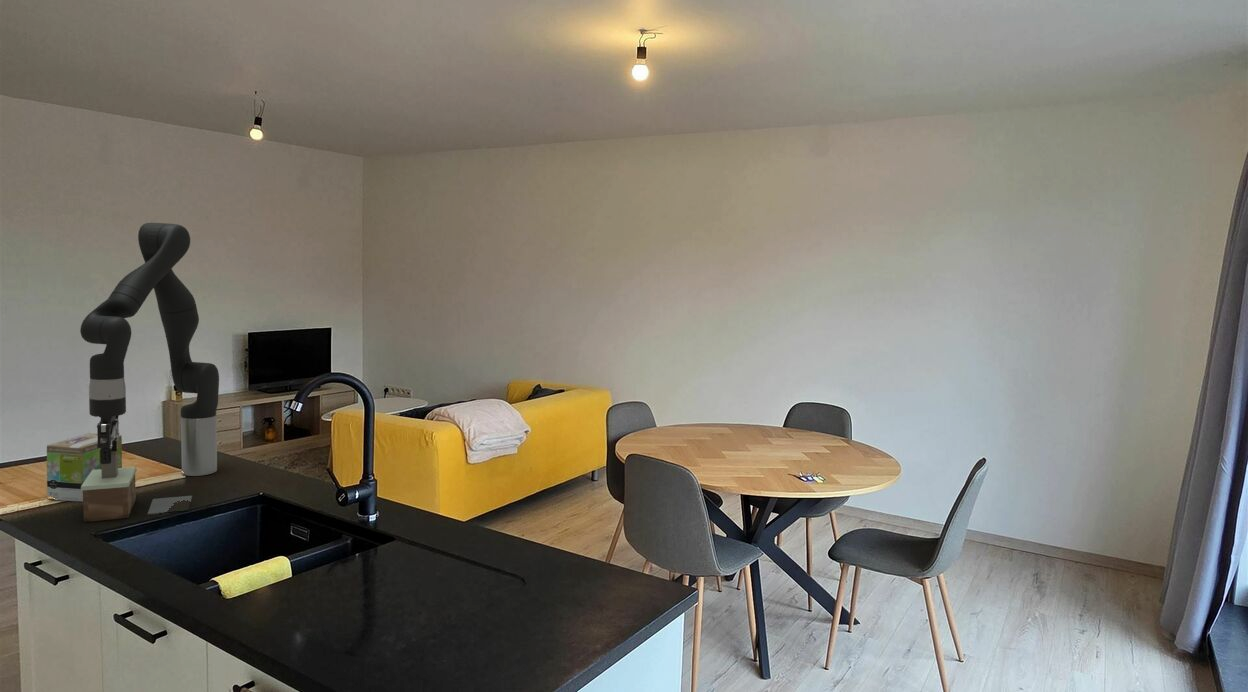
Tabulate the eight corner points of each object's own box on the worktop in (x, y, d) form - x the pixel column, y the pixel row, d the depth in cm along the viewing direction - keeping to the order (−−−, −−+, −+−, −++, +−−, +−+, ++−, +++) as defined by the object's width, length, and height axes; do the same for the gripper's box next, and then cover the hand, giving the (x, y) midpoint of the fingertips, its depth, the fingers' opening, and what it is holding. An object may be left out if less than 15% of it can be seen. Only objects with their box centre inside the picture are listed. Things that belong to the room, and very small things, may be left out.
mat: (153, 500, 198) (153, 498, 198) (192, 496, 202) (192, 495, 202) (147, 514, 188) (147, 513, 188) (188, 510, 192) (188, 509, 192)
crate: (94, 503, 193) (93, 473, 192) (135, 500, 197) (134, 470, 196) (83, 521, 181) (82, 490, 180) (128, 517, 185) (127, 486, 184)
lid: (92, 477, 193) (91, 447, 192) (136, 474, 197) (135, 444, 196) (81, 494, 180) (80, 462, 179) (128, 490, 184) (127, 459, 183)
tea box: (84, 502, 194) (82, 447, 192) (46, 500, 194) (43, 445, 192) (124, 485, 209) (122, 433, 207) (88, 483, 209) (86, 431, 207)
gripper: (121, 400, 181) (122, 465, 183) (129, 390, 194) (130, 451, 195) (83, 401, 178) (85, 467, 179) (94, 391, 190) (96, 453, 192)
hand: (109, 459), depth 187 cm, fingers open, 8 cm apart
